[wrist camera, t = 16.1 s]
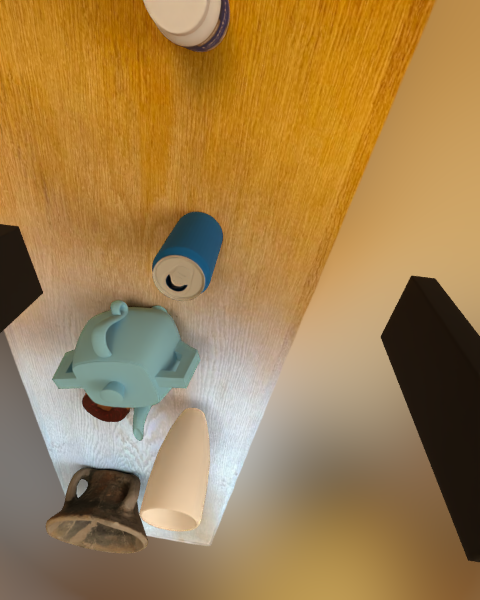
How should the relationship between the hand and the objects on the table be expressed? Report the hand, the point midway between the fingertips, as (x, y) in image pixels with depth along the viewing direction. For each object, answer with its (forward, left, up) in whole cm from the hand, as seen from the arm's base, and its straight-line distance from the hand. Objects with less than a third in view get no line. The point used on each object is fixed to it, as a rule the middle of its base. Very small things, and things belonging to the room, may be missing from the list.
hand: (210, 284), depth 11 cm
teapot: (+15, +33, -30) cm, 47 cm away
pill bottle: (+6, -10, -30) cm, 32 cm away
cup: (+6, +51, -30) cm, 59 cm away
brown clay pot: (+29, +95, -30) cm, 104 cm away
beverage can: (+6, +12, -30) cm, 33 cm away
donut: (+25, +53, -30) cm, 66 cm away
